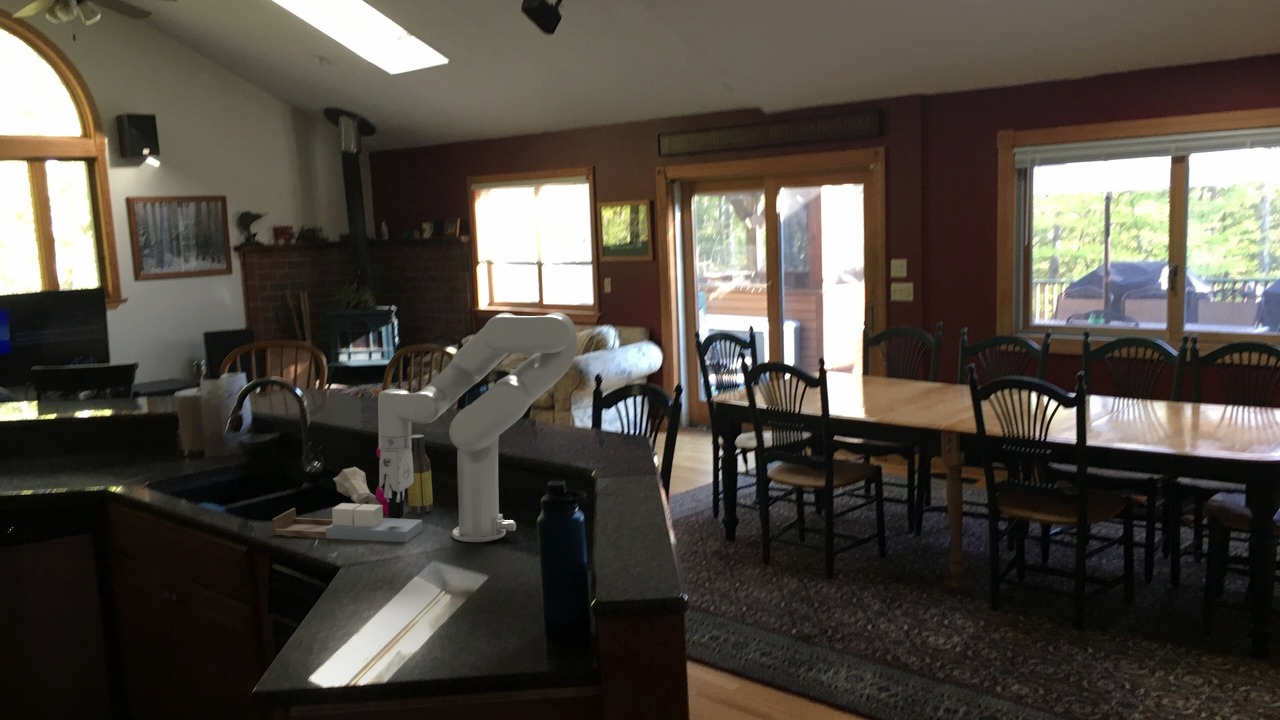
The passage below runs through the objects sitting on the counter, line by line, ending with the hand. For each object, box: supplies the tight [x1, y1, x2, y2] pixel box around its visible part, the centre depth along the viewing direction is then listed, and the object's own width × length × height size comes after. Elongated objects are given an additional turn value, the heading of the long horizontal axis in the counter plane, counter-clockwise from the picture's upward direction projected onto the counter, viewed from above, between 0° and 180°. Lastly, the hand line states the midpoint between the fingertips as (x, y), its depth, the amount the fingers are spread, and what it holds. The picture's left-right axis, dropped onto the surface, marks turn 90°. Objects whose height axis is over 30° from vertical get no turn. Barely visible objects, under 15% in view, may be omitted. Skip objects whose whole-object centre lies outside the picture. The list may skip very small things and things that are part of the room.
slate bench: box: [325, 517, 424, 543], centre depth 235 cm, size 20×10×2 cm, turn 81°
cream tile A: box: [354, 504, 384, 527], centre depth 235 cm, size 5×5×4 cm
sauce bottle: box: [406, 434, 434, 514], centre depth 254 cm, size 6×6×20 cm
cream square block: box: [331, 502, 361, 526], centre depth 236 cm, size 5×5×4 cm
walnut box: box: [271, 507, 333, 539], centre depth 238 cm, size 14×10×4 cm
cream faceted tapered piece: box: [332, 466, 378, 505], centre depth 262 cm, size 9×8×25 cm
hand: (396, 517), depth 234 cm, fingers closed
